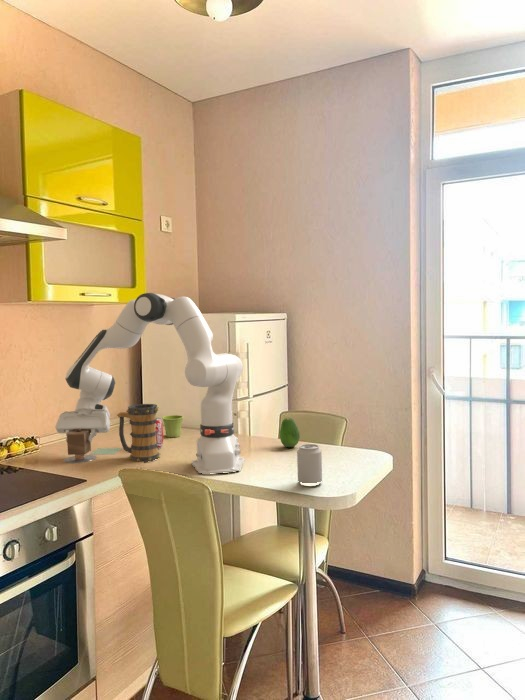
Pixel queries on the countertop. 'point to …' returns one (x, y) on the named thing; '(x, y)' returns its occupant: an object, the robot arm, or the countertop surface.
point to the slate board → (72, 460)
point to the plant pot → (173, 425)
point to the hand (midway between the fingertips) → (78, 441)
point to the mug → (141, 432)
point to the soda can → (159, 433)
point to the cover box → (78, 442)
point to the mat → (105, 451)
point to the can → (309, 463)
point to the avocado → (289, 433)
